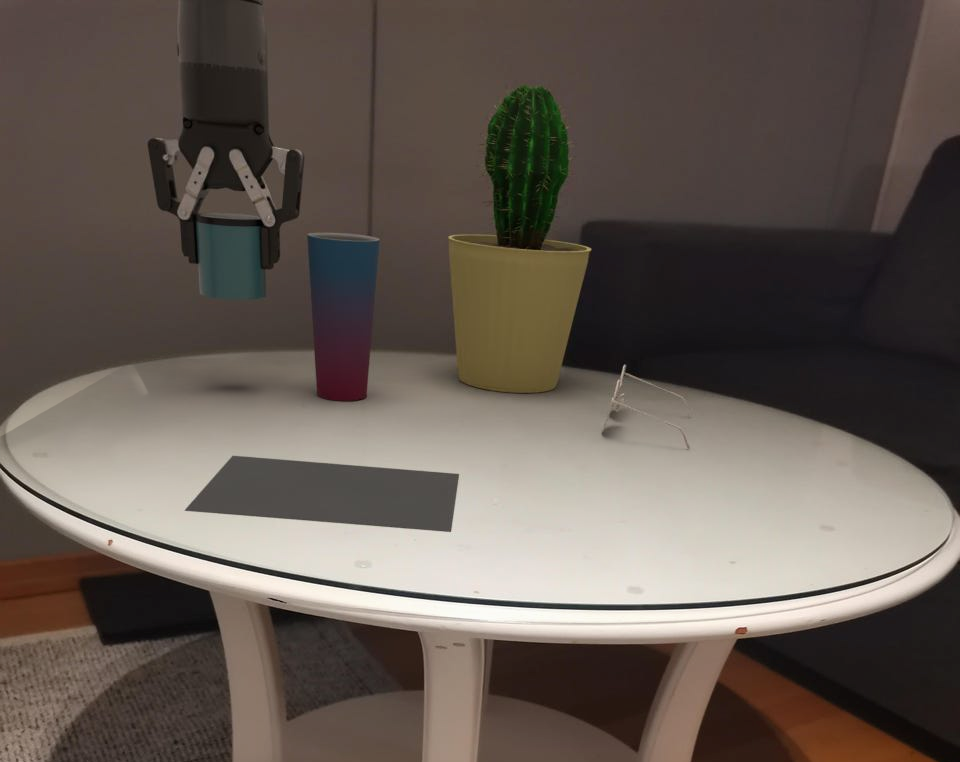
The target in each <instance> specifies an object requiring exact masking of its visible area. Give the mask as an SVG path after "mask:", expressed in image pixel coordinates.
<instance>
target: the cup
mask: <svg viewBox="0 0 960 762" xmlns="http://www.w3.org/2000/svg"><path fill="white" fill-rule="evenodd" d="M306 236H307V237H306V238H307V239H306V240H307V254H308V255H307V256H308V267H309V268H308V270H309V285H310V302H311V303H310V304H311V321H312V335H313V337H312V338H313V351H314V368H315V383H316V385H315V386H316V387H315V388H316V395H317V396H318V397H320V398H321V399H325V400H330V401H336V402H354V401H360V400H359V399H361V400H364V399H365V397H366V398H367V397H368V384H369V383H368V382H369V372H370V370H369V369H370V360H371V359H370V358H371V348H372V347H371V346H372V337H373V336H372V335H373V325H374V311H375V300H376V299H375V298H376V287H377V276H378V264H379V263H378V262H379V253H380V251H379V249H380V238H378V237H375V236H369V235H364V234H363V235H362V234H356V233H355V234H354V233H344V232H310V233H307V235H306ZM363 398H364V399H363Z"/></svg>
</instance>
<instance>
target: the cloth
mask: <svg viewBox="0 0 960 762" xmlns="http://www.w3.org/2000/svg"><path fill="white" fill-rule="evenodd" d="M459 479H460V473H455V472H454V473H453V472H452V473H451V472H442V471H441V472H440V471H429V470H428V471H427V470H417V469H404V468H392V467H380V466H379V467H378V466H367V465H354V464H344V463H343V464H342V463H332V462H331V463H329V462H319V461H318V462H317V461H305V460H291V459H282V458H281V459H279V458H268V457H266V458H265V457H255V456H243V455H232V456H231V457H230V458H229V459H228V460H227V461H226V462H225V464H224V465H223V466H222V467H221V468H220V469H219V470H218V472H217V473H216V474H215V475H214V476H213V477H212V479H210V481H209V482H208V483H207V484H206V485H205V486H204V488H203V489H201V491H200V492H199V493H198V494H197V495H196V497H195V498H194V499H193V500H192V501H191V502H190V503H189V504H188V506H187V507H186V508H185V509H184V511H185V512H194V513H208V514H220V515H233V516H245V517H258V518H269V519H280V520H281V519H284V520H296V521H306V522H308V521H309V522H319V523H330V524H331V523H334V524H344V525H346V524H347V525H355V526H357V525H359V526H368V527H369V526H371V527H382V528H393V529H394V528H395V529H407V530H419V531H433V532H445V533H446V532H447V533H451V532H452V528H453V521H454V515H455V514H454V513H455V507H456V501H457V500H456V499H457V492H458V486H459Z"/></svg>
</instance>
